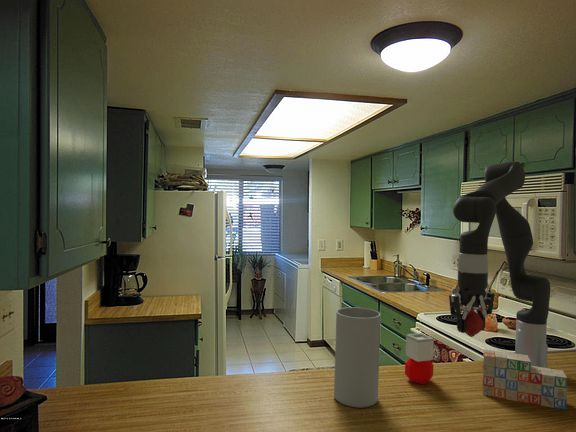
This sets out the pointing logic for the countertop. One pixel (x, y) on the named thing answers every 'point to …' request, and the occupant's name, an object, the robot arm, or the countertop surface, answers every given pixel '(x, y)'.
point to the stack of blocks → (523, 380)
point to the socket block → (419, 347)
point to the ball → (419, 370)
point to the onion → (473, 323)
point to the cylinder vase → (357, 356)
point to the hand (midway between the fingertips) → (471, 330)
